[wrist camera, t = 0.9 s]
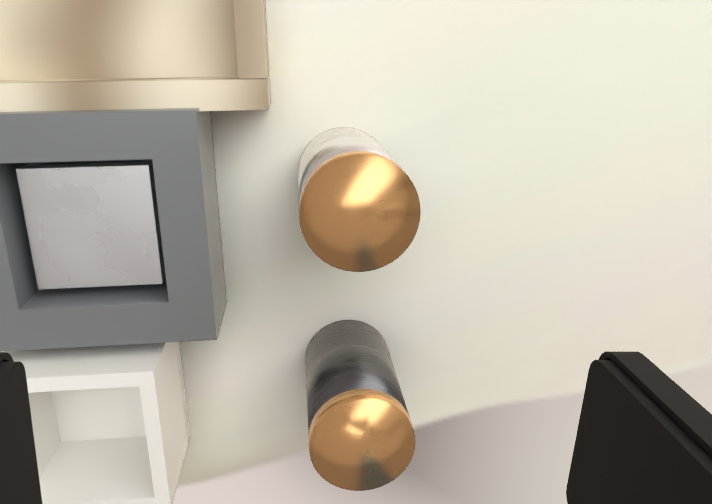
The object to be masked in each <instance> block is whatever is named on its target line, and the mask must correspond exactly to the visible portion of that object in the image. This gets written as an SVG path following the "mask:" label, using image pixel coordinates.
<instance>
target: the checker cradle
mask: <svg viewBox="0 0 712 504" xmlns="http://www.w3.org/2000/svg"><path fill="white" fill-rule="evenodd" d="M119 162H153V171H154V179H155V188H156V196H157V205H158V214H159V222H160V231H161V239H162V248H163V257H164V265H165V274H166V278H165V280H164V282H163V284H148V285H126V286H103V287H81V288H59V289H38V285H37V280H36V275H35V269H34V264H33V259H32V253H31V248H30V243H29V237H28V232H27V227H26V221H25V216H24V211H23V205H22V200H21V195H20V189H19V184H18V179H17V173H16V169H17V168H19V167H22V166H24V165H49V164H84V163H119ZM225 306H226V292H225V280H224V268H223V256H222V244H221V233H220V221H219V209H218V197H217V185H216V173H215V162H214V150H213V138H212V126H211V114H210V111H199V108H167V109H119V110H71V111H23V112H0V351H16V350H35V349H53V348H72V347H91V346H109V345H128V344H147V343H165V342H184V341H203V340H217V337H218V333H219V330H220V326H221V322H222V318H223V314H224V310H225Z"/></svg>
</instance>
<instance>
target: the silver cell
mask: <svg viewBox="0 0 712 504" xmlns="http://www.w3.org/2000/svg"><path fill="white" fill-rule="evenodd" d="M298 190H299V214H300V225H301V229H302V233H303V235H304V238H305V240H306V242H307V243H308V245H309V247H310V248H311V249H312V251H313V252H314V253H315V254H316V255H317V256H318V257H319V258H321V259H322V260H323V261H324V262H326V263H328V264H329V265H331V266H334V267H336V268H338V269H342V270H346V271H352V272H364V271H371V270H375V269H378V268H381V267H383V266H385V265H387V264H389V263H391V262H393V261H394V260H395V259H397V258H398V257H399V256H400V255H401V254H403V252H404V251H405V250H406V249H407V248H408V246H409V245H410V244H411V242H412V240H413V238H414V236H415V234H416V232H417V229H418V225H419V221H420V203H419V197H418V194H417V191H416V189H415V187H414V185H413V183H412V181H411V180H410V178H409V177H408V176H407V175H406V174H405V172H404V171H403V170H402V169H401V168H400V167H399V166H398V164H397V163H396V162H395V161H394V160H393V159H392V158H391V157H390V155H389V154H388V153H387V152H386V151H385V150H384V149H383V148H382V146H381V145H380V144H379V143H378V142H377V141H376V140H375V139H374V138H373V137H372V136H370V135H369V134H367V133H365V132H363V131H361V130H358V129H355V128H350V127H339V128H333V129H330V130H327V131H325V132H323V133H321V134H319V135H318V136H316V137H315V138H314V139H313V140H312V141H311V142H310V143H309V144H308V145H307V146H306V148H305V150H304V151H303V153H302V155H301V158H300V161H299V166H298Z"/></svg>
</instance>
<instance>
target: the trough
mask: <svg viewBox="0 0 712 504" xmlns="http://www.w3.org/2000/svg"><path fill="white" fill-rule="evenodd" d="M270 104H271V99H270V81H269V62H268V44H267V25H266V7H265V0H0V112H23V111H71V110H119V109H167V108H199V111H238V110H268V109H269V106H270Z"/></svg>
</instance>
